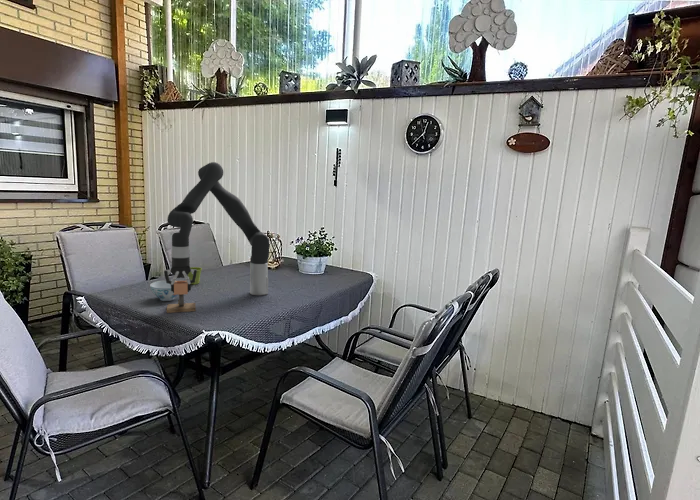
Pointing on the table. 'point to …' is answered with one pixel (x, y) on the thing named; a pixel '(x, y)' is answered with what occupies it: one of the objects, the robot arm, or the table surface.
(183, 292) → the orange hollow square block
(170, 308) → the shaft block
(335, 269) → the table surface
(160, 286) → the chinaware
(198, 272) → the plant pot
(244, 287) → the table surface
